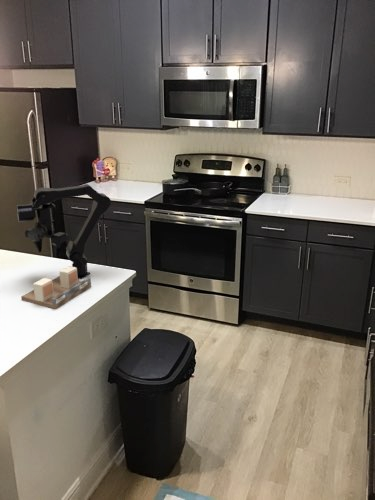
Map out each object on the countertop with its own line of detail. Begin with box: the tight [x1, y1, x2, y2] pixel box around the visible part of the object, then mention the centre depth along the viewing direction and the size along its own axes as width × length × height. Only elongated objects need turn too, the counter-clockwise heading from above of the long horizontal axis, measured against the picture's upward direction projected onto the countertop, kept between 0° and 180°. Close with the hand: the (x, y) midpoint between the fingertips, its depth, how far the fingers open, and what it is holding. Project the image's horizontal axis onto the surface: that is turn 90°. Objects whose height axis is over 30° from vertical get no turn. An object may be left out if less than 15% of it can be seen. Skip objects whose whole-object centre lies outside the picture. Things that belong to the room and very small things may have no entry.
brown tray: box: [21, 275, 92, 310], centre depth 176 cm, size 22×17×4 cm
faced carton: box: [32, 277, 54, 302], centre depth 168 cm, size 4×6×7 cm
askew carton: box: [59, 265, 79, 289], centre depth 180 cm, size 4×6×7 cm
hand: (48, 254), depth 185 cm, fingers open, 9 cm apart
